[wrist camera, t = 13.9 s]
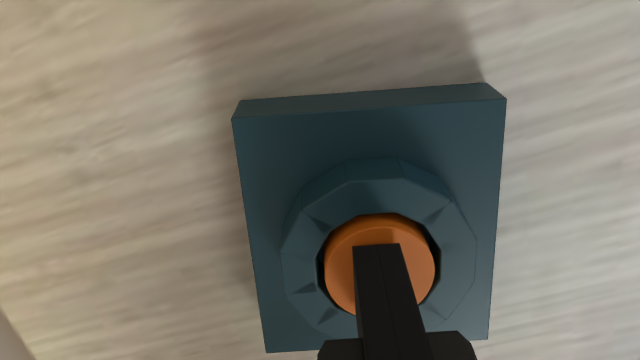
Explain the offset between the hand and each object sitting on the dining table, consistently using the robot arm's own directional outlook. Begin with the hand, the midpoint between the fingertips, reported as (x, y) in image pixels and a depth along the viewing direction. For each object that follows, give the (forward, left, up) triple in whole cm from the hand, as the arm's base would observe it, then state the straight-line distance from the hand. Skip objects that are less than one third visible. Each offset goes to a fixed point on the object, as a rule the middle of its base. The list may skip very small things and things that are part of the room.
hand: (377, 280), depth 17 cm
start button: (0, 0, -2) cm, 2 cm away
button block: (0, 0, -5) cm, 5 cm away
